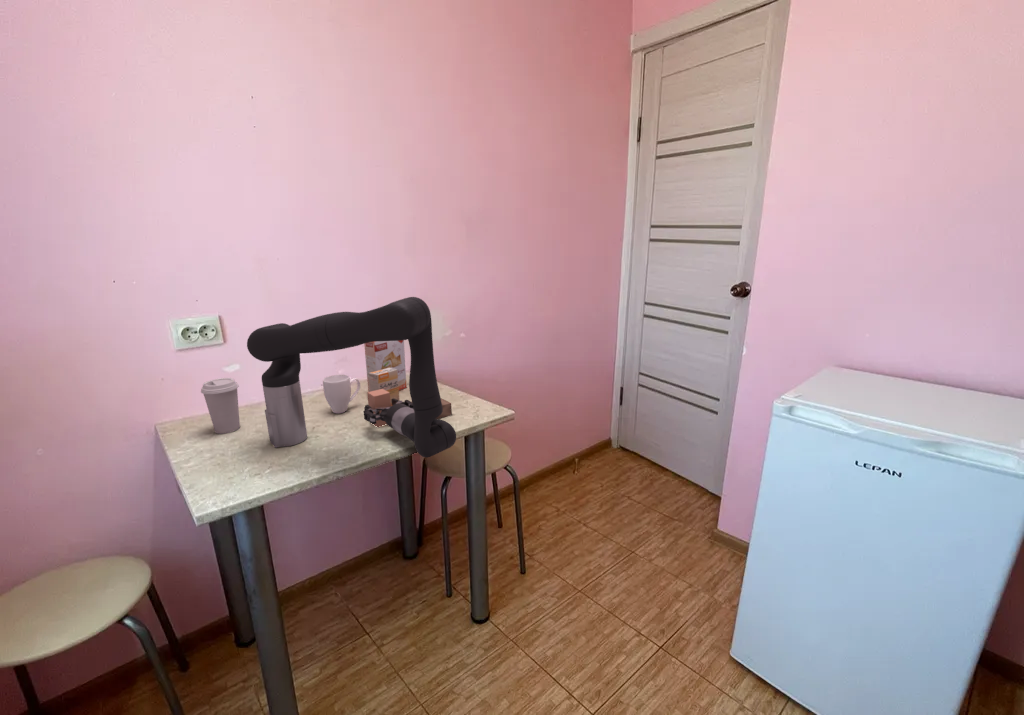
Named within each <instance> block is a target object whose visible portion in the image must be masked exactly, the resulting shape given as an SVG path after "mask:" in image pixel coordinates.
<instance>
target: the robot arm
mask: <svg viewBox="0 0 1024 715" xmlns="http://www.w3.org/2000/svg"><path fill="white" fill-rule="evenodd" d="M432 322H433V321H432V313H431V309H430V307H429V306H428V304H427V303H426V302H425V301H424V300H423V299H422V298H419V297H417V296H408V297H405V298H401V299H398V300H395V301H393V302H390V303H388V304H386V305H382V306H379V307H376V308H374V309H371V310H367V311H363V312H362V311H361V312H356V311H339V312H332V313H328V314H322V315H319V316H315V317H312V318H309V319H305V320H301V321H299V322H297V323H293V324H291V325H289V324H287V323H281V322H280V323H276V324H272V325H271V324H270V325H267V326H263V327H259V328H256V329H254V330H253V331H252V332H251V333H250V335H249V336H248V338H247V342H246V348H247V351H248V352H249V354H250V355H251V356H252V358H254V359H256V360H258V361H261V362H265V363H267V362H269V363H270V362H271V364H270V366H269V367H268V368H267V369H266V370H265V371H264V372H263V373H262V375H261V385H262V389H263V390H262V391H263V395H264V397H263V398H264V402H265V409H264V414H265V420H266V421H265V422H266V426H267V434H268V439H269V442H270V443H271V445H272V446H273V447H274V448H281V447H291V446H295V445H298V444H301V443H302V442H304V441H305V440H306V439H308V430H307V425H306V418H305V417H306V416H305V410H304V404H303V403H304V402H303V396H302V395H303V394H302V389H301V388H302V387H301V382H300V372H301V370H302V369H301V366H302V365H301V363H302V362H301V354H312V353H313V354H315V353H316V354H317V353H322V352H323V353H324V352H333V351H338V350H345V349H350V348H354V347H358V346H361V345H364V344H365V343H368V342H376V341H402V340H404V341H406V340H407V341H408V345H409V350H410V352H409V353H410V366H409V368H410V369H409V379H408V385H409V386H408V387H409V394H410V399H411V400H409V399H404V401H403V400H400V399H399V400H400V401H399V400H397V399H394V398H393V399H391V401H392V406H391V407H386V408H384V407H377V408H372V407H370V406H369V405H368V404H366V405H364V410H363V412H362V413H363V420H365V421H366V422H368V423H370V424H371V423H372V424H376V421H378V420H382V421H385V422H386V423H387V425H386V426H388V427H389V428H390V429H392V430H393V431H395V432H396V433H398V434H400V436H401V435H402V436H403V437H406V438H407V439H408V440H410V441H412V442H413V445H414V448H415V450H416V452H417V454H418V455H419V456H422V457H423V458H431V457H433V456H435V455H438V454H439V453H441V452H443V451H446V450H448V449H451V448H452V447H453V446H454V445H455V443H456V441H457V433H456V430H455V427H453V425H452V424H450V423H449V422H448V421H446V420H443V419H441V418H439V419H436V418H437V417H439V416H440V415H441V414H442V412H443V407H442V402H441V395H440V394H441V393H440V390H439V385H438V380H437V374H436V366H435V356H434V344H433V342H434V341H433V328H432V327H433V325H432ZM411 401H412V402H411ZM380 410H381V413H380ZM373 411H375V413H374V414H373ZM375 414H376V415H375ZM372 424H371V425H372Z"/></svg>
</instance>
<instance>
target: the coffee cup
mask: <svg viewBox="0 0 1024 715" xmlns="http://www.w3.org/2000/svg"><path fill="white" fill-rule="evenodd" d="M239 387H240V386H239V384H238V382H236V380H235V379H234V378H231V377H224V378H223V377H221V378H215V379H211V380H208V381H206V382H204V383H203V384H202V387H201V388H200V393H201V394H203V396H204V397H203V398H204V401H205V403H206V407H207V410H208V413H209V416H210V420H211V423H212V426H213V430H214V433H215V434H218V435H219V434H220V435H221V434H229V433H232V432H235V431H237V430H239V429H240V427H241V424H240V423H241V422H240V411H239V410H240V409H239V396H238V394H239V393H238V388H239Z"/></svg>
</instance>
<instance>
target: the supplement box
mask: <svg viewBox="0 0 1024 715" xmlns="http://www.w3.org/2000/svg"><path fill="white" fill-rule="evenodd" d="M369 378H370V389H371V391H375V390H380V389H384V390H386V391H388V392H389V393H390V401H391V399H393V398H394V399H397V400H399V401H401V400H400V390H399V387H398V372H397V369H394V368H386V369H382V370H378V371H374V372H370V373H369ZM391 406H392V401H391Z"/></svg>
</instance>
